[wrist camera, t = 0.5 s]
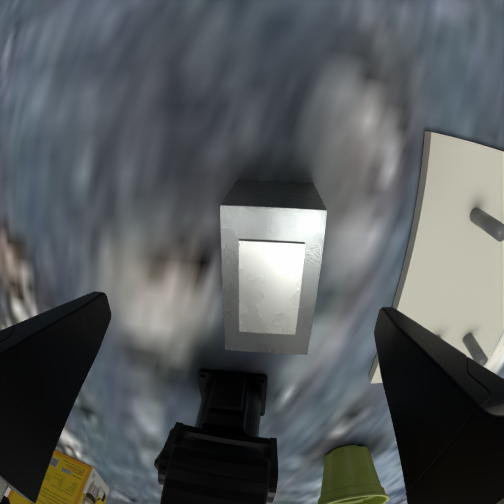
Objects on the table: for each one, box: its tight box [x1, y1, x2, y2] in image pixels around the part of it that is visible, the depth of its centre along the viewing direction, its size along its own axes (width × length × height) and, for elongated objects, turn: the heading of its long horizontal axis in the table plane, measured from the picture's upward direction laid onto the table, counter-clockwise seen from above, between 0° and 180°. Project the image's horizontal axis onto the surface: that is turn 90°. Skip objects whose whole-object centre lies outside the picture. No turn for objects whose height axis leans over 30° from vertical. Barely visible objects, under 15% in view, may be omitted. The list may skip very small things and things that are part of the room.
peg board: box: [369, 131, 504, 383], centre depth 19 cm, size 22×14×4 cm, turn 179°
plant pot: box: [318, 445, 389, 504], centre depth 29 cm, size 9×9×9 cm
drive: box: [220, 180, 327, 354], centre depth 19 cm, size 9×5×6 cm, turn 179°
